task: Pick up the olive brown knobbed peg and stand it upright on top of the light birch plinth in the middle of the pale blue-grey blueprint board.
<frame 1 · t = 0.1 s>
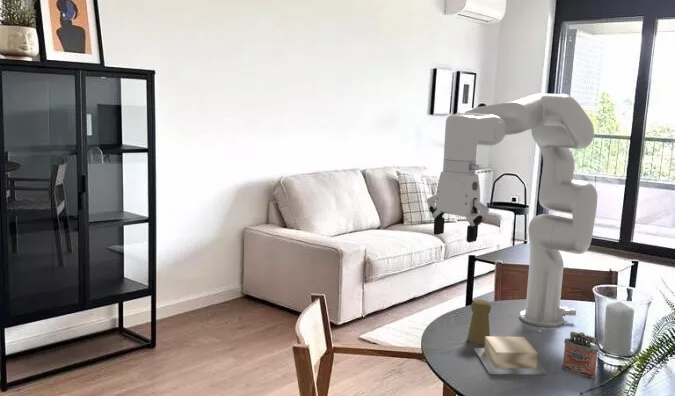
hand: (454, 237, 152), 31 cm above the table, tool pointing down, fingers open, 9 cm apart
olive brown knobbed peg: (478, 340, 171), on the table
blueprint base: (509, 361, 157), on the table
lighter: (578, 374, 152), on the table
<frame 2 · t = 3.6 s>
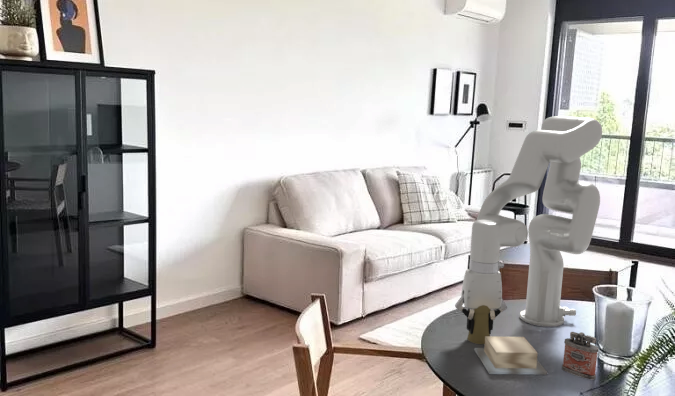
hand: (479, 331, 170), 2 cm above the table, tool pointing down, fingers closed on olive brown knobbed peg, 4 cm apart
olive brown knobbed peg: (478, 340, 171), on the table, touching gripper
everything else where it was.
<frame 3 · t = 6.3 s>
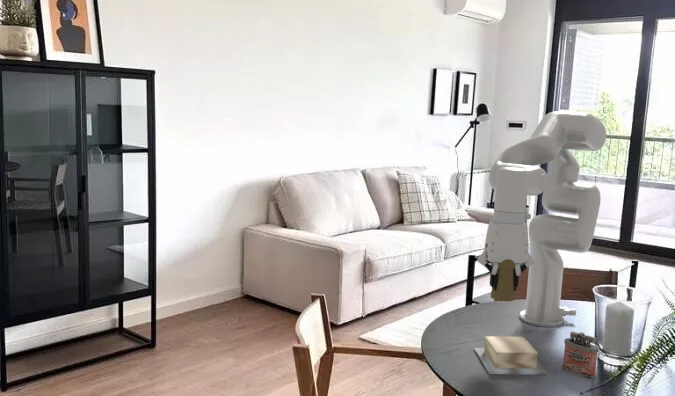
hand: (503, 288, 158), 18 cm above the table, tool pointing down, fingers closed on olive brown knobbed peg, 4 cm apart
olive brown knobbed peg: (502, 298, 159), point 15 cm above the table, touching gripper
everything else where it was.
when the fingers open (8 cm above the table, at t = 9.1 s): olive brown knobbed peg stays where it is, resting on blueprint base.
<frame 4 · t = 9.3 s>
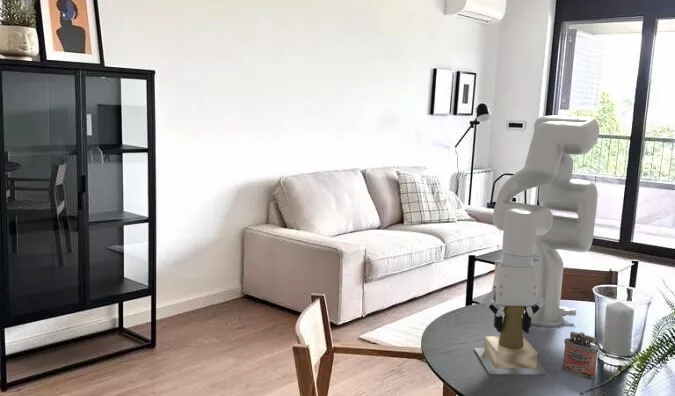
hand: (511, 329, 156), 8 cm above the table, tool pointing down, fingers open, 6 cm apart
olive brown knobbed peg: (510, 344, 156), point 4 cm above the table, touching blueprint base
everything else where it was.
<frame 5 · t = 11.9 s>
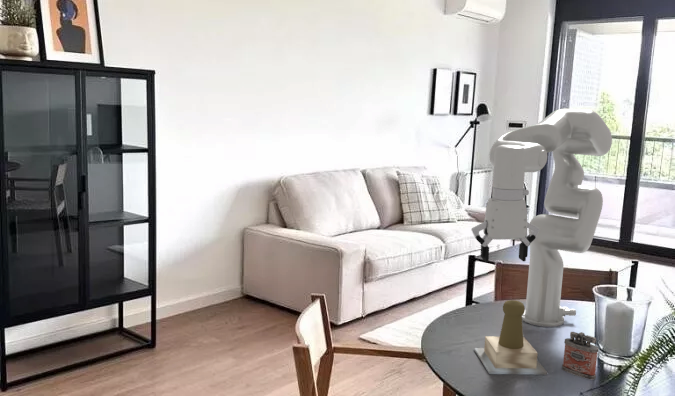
hand: (503, 260, 161), 24 cm above the table, tool pointing down, fingers open, 9 cm apart
nothing on the table moved.
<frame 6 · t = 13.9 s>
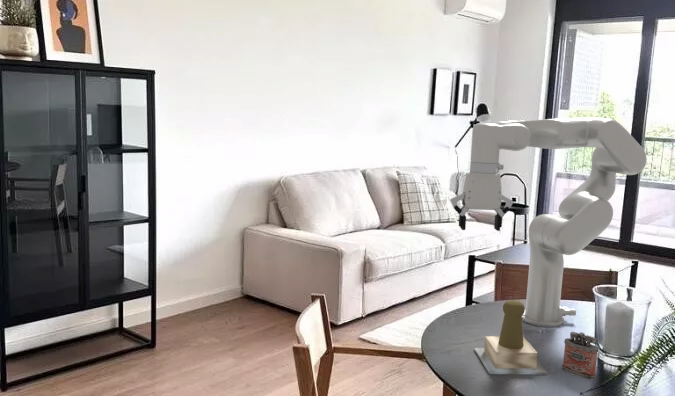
hand: (479, 229, 176), 28 cm above the table, tool pointing down, fingers open, 9 cm apart
nothing on the table moved.
at the end: olive brown knobbed peg 0.1 cm off-centre on the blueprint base, point 4.4 cm above the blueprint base's base; olive brown knobbed peg tilted 0°; the gripper is holding nothing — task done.
